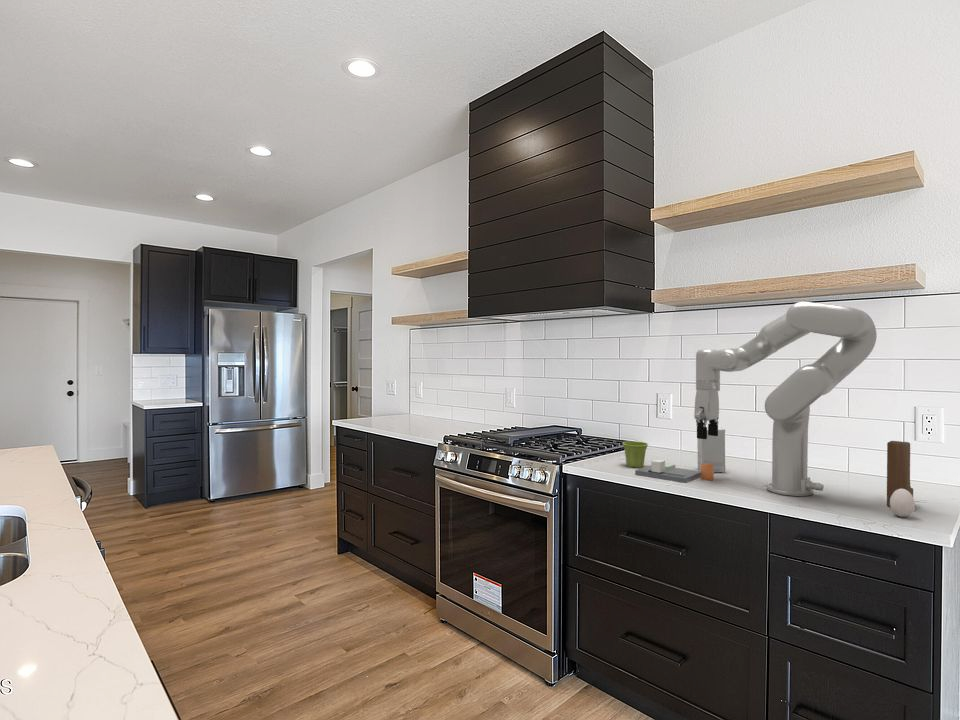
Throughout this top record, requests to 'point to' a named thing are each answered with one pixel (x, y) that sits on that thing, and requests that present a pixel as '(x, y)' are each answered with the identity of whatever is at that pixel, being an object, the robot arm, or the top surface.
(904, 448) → the wooden block
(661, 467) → the block
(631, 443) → the plant pot
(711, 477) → the cap
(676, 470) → the breaker board
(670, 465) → the pad
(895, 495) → the egg
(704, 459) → the skincare box
